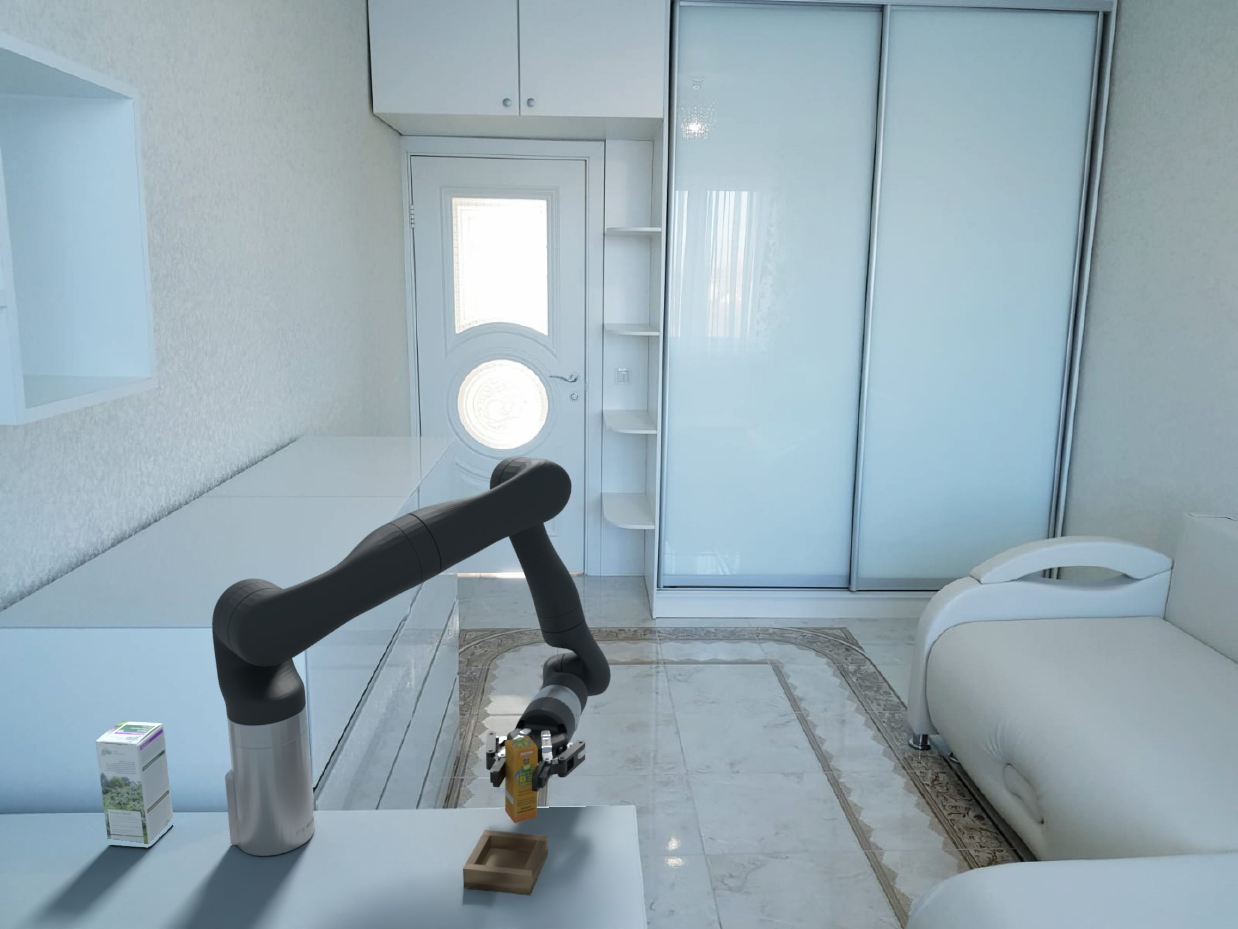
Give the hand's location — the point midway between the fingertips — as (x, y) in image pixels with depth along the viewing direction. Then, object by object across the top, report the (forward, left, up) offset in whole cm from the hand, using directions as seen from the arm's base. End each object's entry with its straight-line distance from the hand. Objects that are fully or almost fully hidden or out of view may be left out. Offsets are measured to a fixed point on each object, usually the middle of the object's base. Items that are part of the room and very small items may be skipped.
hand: (515, 782), depth 116 cm
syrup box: (-48, -6, -9) cm, 49 cm away
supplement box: (0, +3, -6) cm, 7 cm away
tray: (0, -5, -9) cm, 10 cm away
